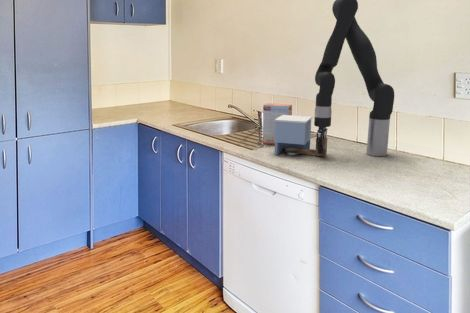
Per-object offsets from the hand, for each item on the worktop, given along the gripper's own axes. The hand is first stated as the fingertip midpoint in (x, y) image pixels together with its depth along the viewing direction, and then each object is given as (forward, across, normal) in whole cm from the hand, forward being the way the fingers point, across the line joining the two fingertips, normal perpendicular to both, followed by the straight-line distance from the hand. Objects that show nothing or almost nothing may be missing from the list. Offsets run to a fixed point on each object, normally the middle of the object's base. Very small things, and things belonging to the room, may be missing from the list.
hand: (321, 151), depth 201 cm
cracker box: (+2, +16, +26) cm, 31 cm away
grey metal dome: (+2, -3, +13) cm, 14 cm away
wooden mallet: (+1, 0, +7) cm, 8 cm away
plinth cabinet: (+2, +2, +14) cm, 14 cm away
